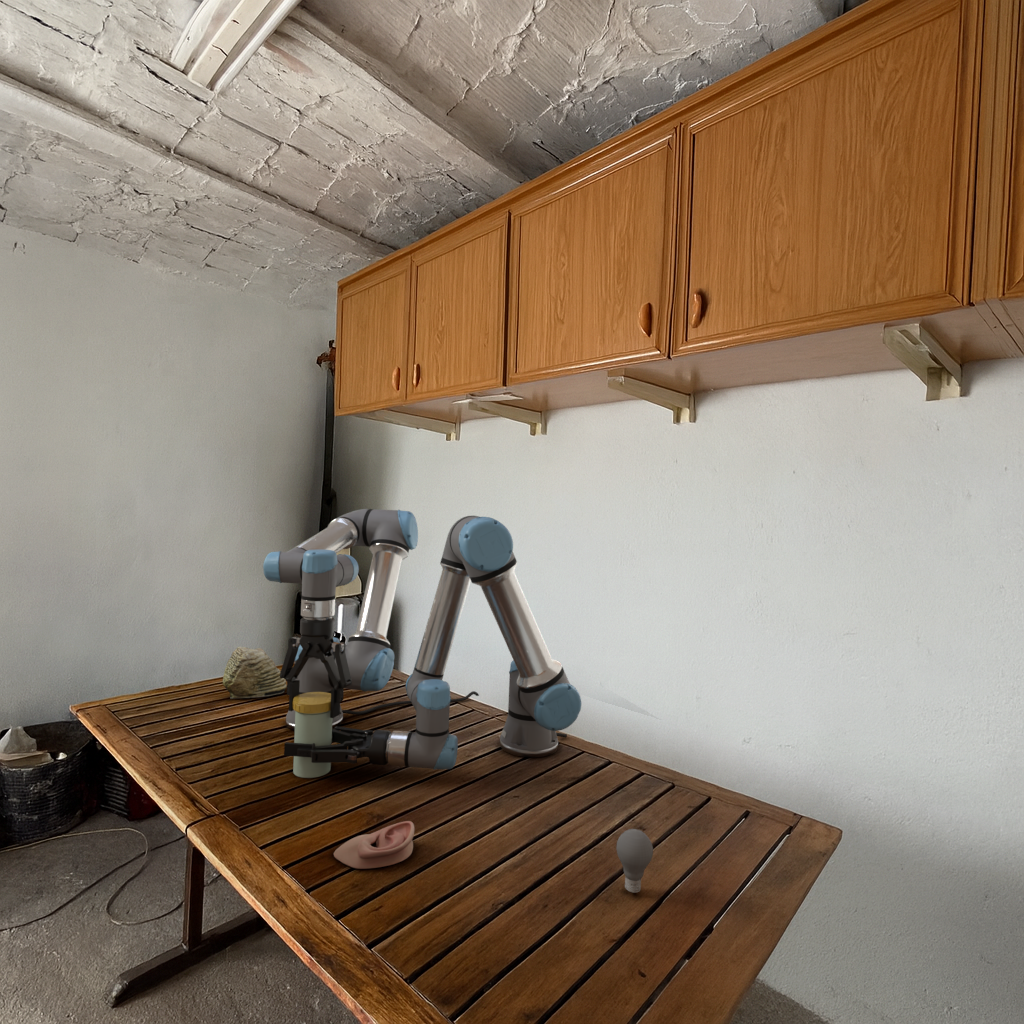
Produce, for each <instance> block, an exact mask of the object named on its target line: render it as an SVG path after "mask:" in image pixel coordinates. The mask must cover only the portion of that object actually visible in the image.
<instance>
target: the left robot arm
mask: <svg viewBox="0 0 1024 1024" xmlns="http://www.w3.org/2000/svg"><path fill="white" fill-rule="evenodd" d="M416 519H417V518H416V517H415V514H414V513H413V512H411V511H409V510H401V509H398V510H397V509H377V508H361V509H356V510H352V511H349V512H347V513H344V514H342V515H340V516H338V517H336V518H334V519H333V520H331V521H330V522H329V523H328V524H327V527H325V528H324V529H323V530H321V531H319V532H318V533H316V534H315V535H312V536H311V537H309V538H307V539H306V540H304V541H302V542H300V543H299V544H298V545H296V546H294V547H293V548H291V549H289V550H287V551H279V550H278V551H271V552H269V553H267V554H266V557H265V558H264V561H263V565H262V569H263V575H264V577H265V579H266V580H267V581H269V582H273V583H274V582H275V583H279V584H283V583H284V584H297V585H298V584H299V585H301V601H300V602H301V603H300V616H301V617H302V618H301V619H300V622H299V623H300V624H299V625H300V626H299V633H300V637H299V636H297V635H296V636H292V637H290V638H288V640H287V650H286V653H285V656H284V661H283V663H282V666H281V669H280V678H284V679H285V680H286V685H287V687H286V695H287V696H288V711H287V713H286V715H285V726H286V728H287V729H289V730H291V731H295V710H294V709H293V699H294V697H295V696H297V695H300V694H303V693H309V692H327V693H331V709H330V718H333V719H332V729H334V728H335V727H336V726H339V727H340V725H342V723H343V722H344V714H346V715H354V716H360V715H366V714H369V713H371V712H374V711H376V710H379V709H383V708H388V707H389V708H390V707H394V706H400V705H411V704H412V702H411V701H410V700H402V701H393V702H388V703H382V704H379V705H376V706H373V707H370V708H367V709H365V710H360V711H355V710H349V709H348V710H347V709H342V706H341V703H342V702H343V701H344V690H352V691H353V690H356V691H362V692H379V691H381V690H383V689H384V688H385V686H386V685H387V684H388V683H389V681H390V678H391V677H392V673H393V671H394V666H395V652H394V650H393V649H391V643H390V641H389V639H387V636H388V630H389V625H390V621H391V616H392V611H393V605H394V601H395V595H396V592H397V586H398V582H399V577H400V576H399V575H400V571H401V565H402V563H403V562H402V561H404V560H405V559H407V558H408V557H409V552H410V550H411V551H413V550H415V549H416V548H417V546H418V541H419V529H418V522H417V520H416ZM353 547H366V548H367V547H368V550H369V552H370V553H371V554H372V559H371V563H370V568H369V572H368V576H367V581H366V584H365V589H364V593H363V599H362V602H361V607H360V611H359V615H358V620H357V625H356V629H355V632H354V633H353V634H351V635H350V636H348V640H347V643H346V642H344V641H342V642H341V641H340V639H339V638H338V637H334V634H335V621H336V620H335V618H334V616H335V615H336V592H337V588H338V587H341V586H344V587H345V586H346V585H348V584H350V583H352V582H353V581H355V580H356V578H357V577H358V575H359V571H360V567H359V563H358V561H357V560H356V559H355V558H354V557H353V556H352V555H350V554H345V553H340V552H341V551H342V550H348V549H351V548H353ZM337 553H340V554H337ZM474 695H475V696H476V697H479V696H480V694H479V693H478V692H477V691H476V690H475V691H473V690H472V691H471V692H469V693H468V694H467V695H465V696H463V697H459V698H451V700H450V703H457V702H458V703H459V702H463V701H466V700H469V698H470V697H472V696H474ZM412 705H413V704H412Z"/></svg>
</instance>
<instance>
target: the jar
mask: <svg viewBox="0 0 1024 1024" xmlns="http://www.w3.org/2000/svg"><path fill="white" fill-rule="evenodd" d="M332 719H333V718H330V711H327V712H323V713H315V714H306V713H300V712H297V711H295V730H294V737H293V738H294V740H293V743H304V744H313V743H315V746H324V745H333V742H332ZM311 759H312V758H311V757H298V756H293V765H292V766H293V767H292V770H293V771H292V773H293V774H294V775H295V776H296V777H298V778H304V779H313V778H314V779H315V778H319V777H322V776H325V775H327V774H328V773H330V772H331V767H332V763H312V762H311Z"/></svg>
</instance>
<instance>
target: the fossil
mask: <svg viewBox="0 0 1024 1024" xmlns="http://www.w3.org/2000/svg"><path fill="white" fill-rule="evenodd" d="M280 672H281V669H279V668H278V667H277V665H276V663H275V662H274V660H273V659H272V658H271V657H270V656H269V655H268V654H267V653H266V652H265V650H264V649H263V648H260V647H258V648H251V647H247V646H246V647H245V646H238V647H237V648H236V649H235V650H233V651H232V653H231V656H230V657H229V659H228V660H227V663H226V666H225V668H224V671H223V675H222V676H223V677H222V685H223V687H224V688H225V690H226V691H228V693H229V698H230V699H250V698H264V697H271V696H275V695H281V694H284V693H285V691H287V681H286V679H284V678H280Z"/></svg>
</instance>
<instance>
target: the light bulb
mask: <svg viewBox="0 0 1024 1024" xmlns="http://www.w3.org/2000/svg"><path fill="white" fill-rule="evenodd" d="M615 849H616V854H617V857H618V859H619V861H620V863H621V865H622V867H623V873H624V874H623V875H624V876H625V878H624V888H625V890H627V891H628V892H630V893H634V894H635V893H639V892H640V891H641V889H642V887H641V886H642V879H643V877H644V875H645V871H646V868H647V867H648V866H649V864H650V863H651V861H652V859H653V855H654V847H653V843H652V841H651V838H649V836H648V835H647V834H646V833H645V832H643V831H642V830H641V829H636V828H629V829H627V830H625V831H623V832H622V833H621V834H620V835H619V837H618V839H617V841H616V847H615Z"/></svg>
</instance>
